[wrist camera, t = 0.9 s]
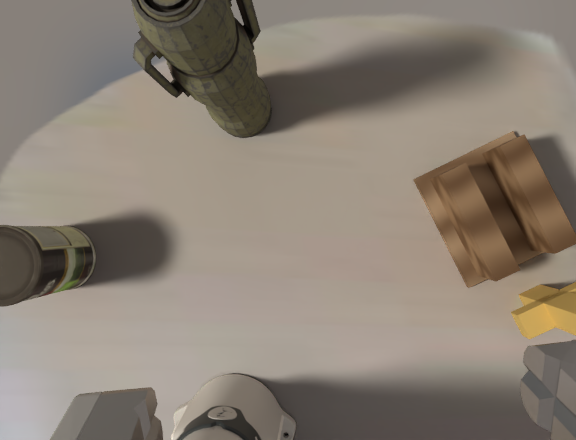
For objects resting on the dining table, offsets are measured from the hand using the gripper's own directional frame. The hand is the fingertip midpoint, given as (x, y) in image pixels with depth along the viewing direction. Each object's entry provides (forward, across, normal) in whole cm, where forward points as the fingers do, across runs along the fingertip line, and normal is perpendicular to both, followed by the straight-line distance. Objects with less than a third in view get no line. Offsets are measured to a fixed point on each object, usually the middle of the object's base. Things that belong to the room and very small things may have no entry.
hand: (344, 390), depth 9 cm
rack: (+52, +32, -13) cm, 62 cm away
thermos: (+62, -3, +3) cm, 62 cm away
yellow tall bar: (+47, +38, -26) cm, 66 cm away
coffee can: (+59, -33, -17) cm, 70 cm away
